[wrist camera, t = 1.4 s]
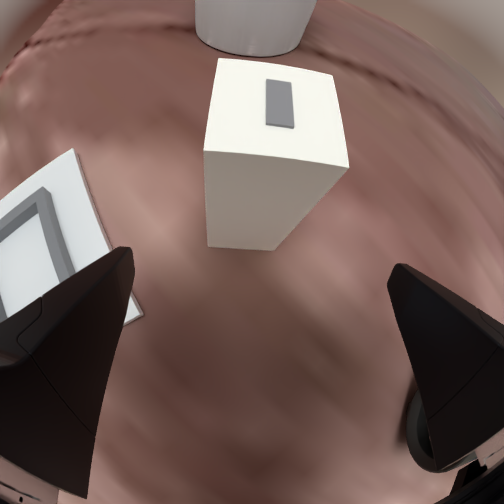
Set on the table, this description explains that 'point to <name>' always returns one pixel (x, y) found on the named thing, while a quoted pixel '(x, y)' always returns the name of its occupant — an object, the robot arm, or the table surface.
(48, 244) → the dock plate
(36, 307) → the robot arm
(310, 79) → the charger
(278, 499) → the table surface
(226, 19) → the utensil holder
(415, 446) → the muzzle brake
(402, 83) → the table surface
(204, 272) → the table surface
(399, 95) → the table surface
